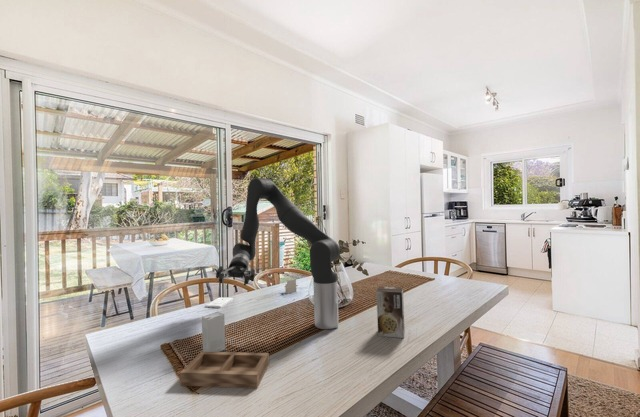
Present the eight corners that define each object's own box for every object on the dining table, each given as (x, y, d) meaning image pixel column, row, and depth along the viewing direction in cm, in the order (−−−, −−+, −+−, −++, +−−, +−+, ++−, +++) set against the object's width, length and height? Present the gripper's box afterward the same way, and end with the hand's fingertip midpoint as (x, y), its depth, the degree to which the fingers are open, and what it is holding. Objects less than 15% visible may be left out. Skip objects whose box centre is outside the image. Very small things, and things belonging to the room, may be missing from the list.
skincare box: (218, 346, 103) (217, 310, 102) (226, 349, 100) (225, 313, 100) (201, 353, 98) (200, 316, 98) (209, 357, 95) (207, 319, 95)
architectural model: (284, 293, 164) (283, 279, 164) (295, 290, 168) (294, 277, 168) (287, 294, 162) (286, 280, 161) (298, 292, 166) (297, 278, 165)
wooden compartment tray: (269, 364, 89) (268, 353, 89) (257, 388, 78) (256, 374, 78) (201, 363, 92) (201, 351, 92) (180, 385, 80) (180, 372, 80)
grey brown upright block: (405, 331, 110) (403, 287, 110) (403, 338, 104) (402, 292, 104) (379, 328, 113) (378, 285, 113) (377, 335, 107) (376, 290, 107)
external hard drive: (233, 300, 154) (220, 309, 142) (218, 300, 156) (204, 308, 143) (233, 297, 154) (220, 305, 142) (218, 297, 156) (204, 305, 143)
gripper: (222, 254, 124) (213, 270, 108) (257, 258, 126) (254, 274, 110) (221, 271, 125) (212, 289, 110) (255, 274, 128) (251, 293, 112)
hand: (233, 281), depth 110 cm, fingers open, 8 cm apart
